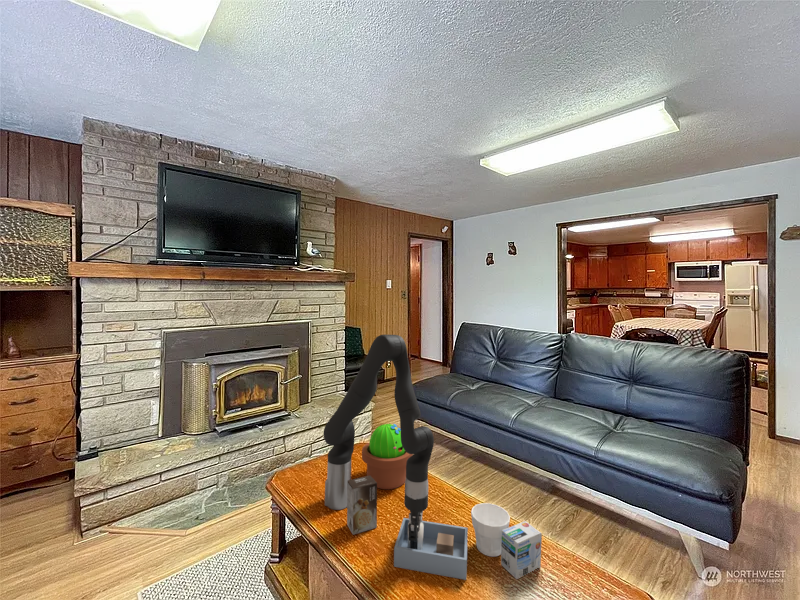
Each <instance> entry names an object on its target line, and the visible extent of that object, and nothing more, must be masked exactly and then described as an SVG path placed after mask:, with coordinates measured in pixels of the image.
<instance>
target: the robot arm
mask: <svg viewBox="0 0 800 600" xmlns="http://www.w3.org/2000/svg"><path fill="white" fill-rule="evenodd" d="M387 362H392V363H393V366H394V370H395V385H394V396H393V397H394V401H395V405H396V410H397V412H398V416H399V428H400V430H401V443H402V446H403V448H404V450H405V451H406V452H407V453H409V454H413V455H412V456H411V457H410V458H408V460H407V462H406V480H405V483H404V502H403V503H404V507H405V508H406V509H407V511H409V513H408V519H409V525H408V530H409V538H408V539H409V541H410V548H411V549H417V547H418V532H419V530H420V522H422V521H423V514H424V513H423V512H424V511H426V510H427V508H428V506H429V479H428V478H429V476H428V475H429V464H430V460H431V458H432V457H431V456H432V452H433V449H434V443H435V439H434V434H433V432H432V430H431V428H429V427H428V426H425V425H423V426H419V427H415V422H416V421H418V420H419V419H420V417H421V416H422V415H421V414H422V413H421V410H420V407H419V403H418V399H417V396H416V394H415V390H414V385H413V379H412V376H411V375H412V374H411V368H410V362H409V355H408V348H407V344H406V341H405V340H404V338H403V337H402V336H401V335H398V334H380V335H378V336H376V337H375V338H374V340H373V342H372V343H371V345H370V347H369V350H368V352H367V355H366V357H365V359H364V361H363V363H362V365H361V367H360V369H359V371H358V373H357V374H356V376H355V378H354V380H353V381H352V383H351V384H350V386H349V387H348V390H347V392H346V394H345V396H344V397H343V399H342V400H341V402H340V404H339V406H338V407H337V409H336V411H335V412H334V413H333V414H332V415H331V417H330V418H329V419H328V421H327V422H326V424H325V426H324V429H323V439H324V442H325V443H326V444H327V445H328V446H332V447H331V449H330V450H329V451H328V452H327V453H328V454H327V469H326V470H327V471H326V472H327V475H326V480H325V481H324V483H325V484H324V507H325V506H326V507H327V508H328V509H331V510H337V511H338V510H344V509H346V508H347V482H348V480H352V457H353V453H354V450H355V449H354V448H355V435H356V433H355V431H356V429H355V428H356V427H355V425H354V424H355V423H354V421H353V420H354V419H355V418H356V417H358V416H359V415H360V414H361V413H362V412H363V411H364V410H365V408H367V406H368V405H369V404H370V403H371V401H372V399H373V398H374V396H375V394H376V392H377V390H378V374H379V372H380V370H381V368H382V367H383V366H384V364H385V363H387ZM417 526H418V527H417Z"/></svg>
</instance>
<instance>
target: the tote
mask: <svg viewBox="0 0 800 600" xmlns="http://www.w3.org/2000/svg"><path fill="white" fill-rule="evenodd" d="M408 523H409V517H407V518H406V517H403V519H402V522H401V525H400V529H399V532H398V534H397V537H396V541H395V545H394V547H393V548H394V549H393V567H394V568H395V567H396V568H401V569H405V570H411V571H417V572H420V573H421V572H422V573H425V574H426V573H427V574H431V575H438V576H443V577H449V578H454V579H458V580H459V579H460V580H464V581H467V575H468V574H467V573H468V570H467V569H468V568H467V567H468V530H469V528H468V527H466V526H465V527H464V526H458V525H453V524H447V523H446V524H445V523H440V522H434V521H426V520H422V523H423V524H424V531H423V549H422V550H417V549H411V548H408V547H407V545H408ZM438 533H443V534H449V535H454V549H453V556H451V555H446V554H440V553H436V544H437V537H438Z"/></svg>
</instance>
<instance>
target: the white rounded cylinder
mask: <svg viewBox="0 0 800 600" xmlns="http://www.w3.org/2000/svg"><path fill="white" fill-rule="evenodd" d="M408 525H409V523H408ZM417 527H418V526H417ZM423 531H424V524H423V523H422V522H420V530H419V532H418V547H417V550H422V549H423ZM408 538H409V530H408ZM407 547H408V548H410V541H409V539H408V545H407Z"/></svg>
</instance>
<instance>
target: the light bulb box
mask: <svg viewBox="0 0 800 600" xmlns="http://www.w3.org/2000/svg"><path fill="white" fill-rule="evenodd" d="M542 536H543V534H542V532H541V531H539V530H538V529H536V528H535V527H534V526H533V525H532V524H530V523H529V522H527V521H526V520H524V521H522V522H519V523H517V524H514V525H512V526H509V528H507V529H504V530H502V544H501V555H500V556H501V557H500V565H501V566H502V567H503V568H504V569H505V570H506V571H507V572H508V573H509V574H510V575H511V576H513V578H515V580H518V579H520V577H521V578H522V576H523V577H524V575H525V576H527V575H529V574H531V573H533V572H535V571H536V570H535V569H537V568H539V569H541V561H542V560H541V559H542V539H543V538H542ZM534 570H535V571H534ZM537 570H538V569H537ZM532 571H533V572H532ZM530 572H531V573H530ZM528 573H529V574H528ZM526 574H527V575H526Z"/></svg>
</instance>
